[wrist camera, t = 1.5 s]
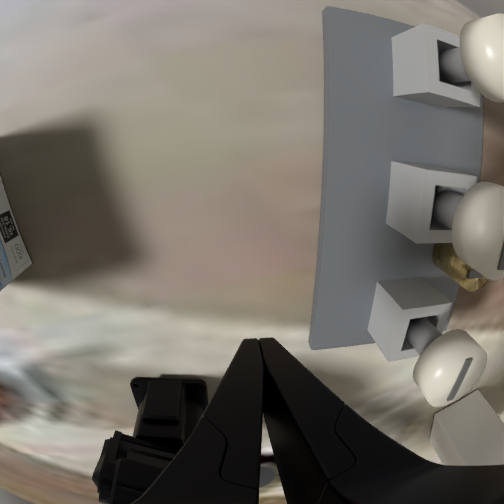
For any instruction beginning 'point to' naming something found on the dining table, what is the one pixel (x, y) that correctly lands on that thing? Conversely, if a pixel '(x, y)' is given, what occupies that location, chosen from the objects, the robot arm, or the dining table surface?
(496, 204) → the knob mid
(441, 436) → the milk carton
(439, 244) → the knob
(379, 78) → the panel
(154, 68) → the dining table surface
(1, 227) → the light bulb box
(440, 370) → the knob
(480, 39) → the knob
